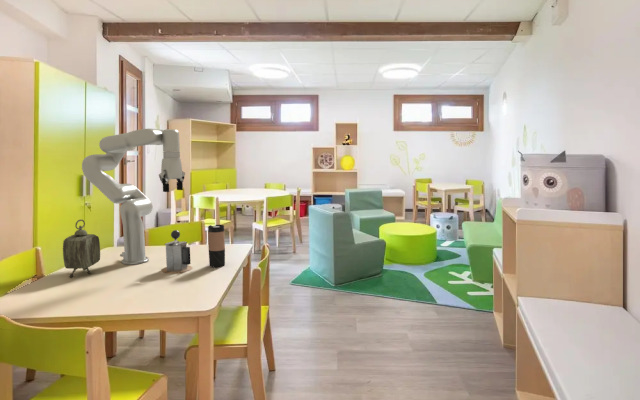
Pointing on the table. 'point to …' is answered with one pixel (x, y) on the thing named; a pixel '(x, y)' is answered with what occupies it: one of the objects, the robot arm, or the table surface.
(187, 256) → the grey slotted housing
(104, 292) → the table surface
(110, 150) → the robot arm
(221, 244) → the travel mug
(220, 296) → the table surface
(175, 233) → the plunger
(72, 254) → the tabletop clock
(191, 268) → the disc
